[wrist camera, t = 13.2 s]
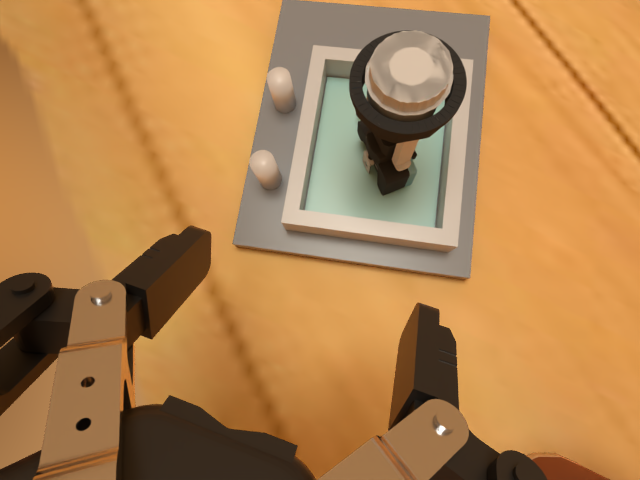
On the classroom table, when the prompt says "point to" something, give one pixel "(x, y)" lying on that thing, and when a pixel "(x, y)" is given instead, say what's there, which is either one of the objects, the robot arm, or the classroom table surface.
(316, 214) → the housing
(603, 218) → the classroom table surface
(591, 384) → the classroom table surface
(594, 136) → the classroom table surface
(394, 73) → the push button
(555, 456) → the coffee cup
